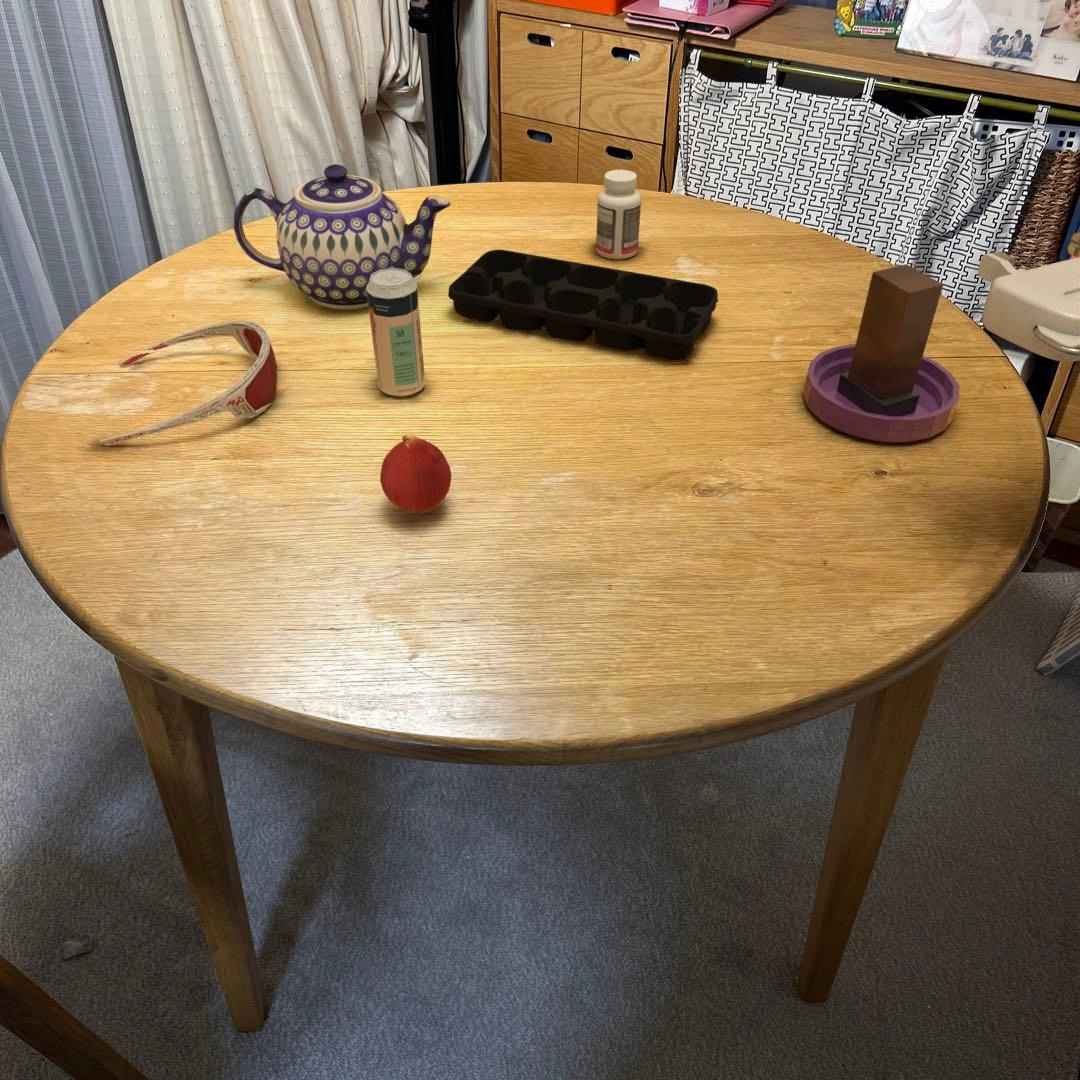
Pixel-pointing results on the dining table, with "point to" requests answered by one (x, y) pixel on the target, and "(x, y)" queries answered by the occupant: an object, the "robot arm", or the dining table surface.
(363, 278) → the teapot
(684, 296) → the black muffin tray
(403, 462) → the onion
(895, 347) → the brown rectangular block
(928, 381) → the purple round dish
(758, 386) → the dining table surface
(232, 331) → the sunglasses
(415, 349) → the beer can
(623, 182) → the pill bottle
